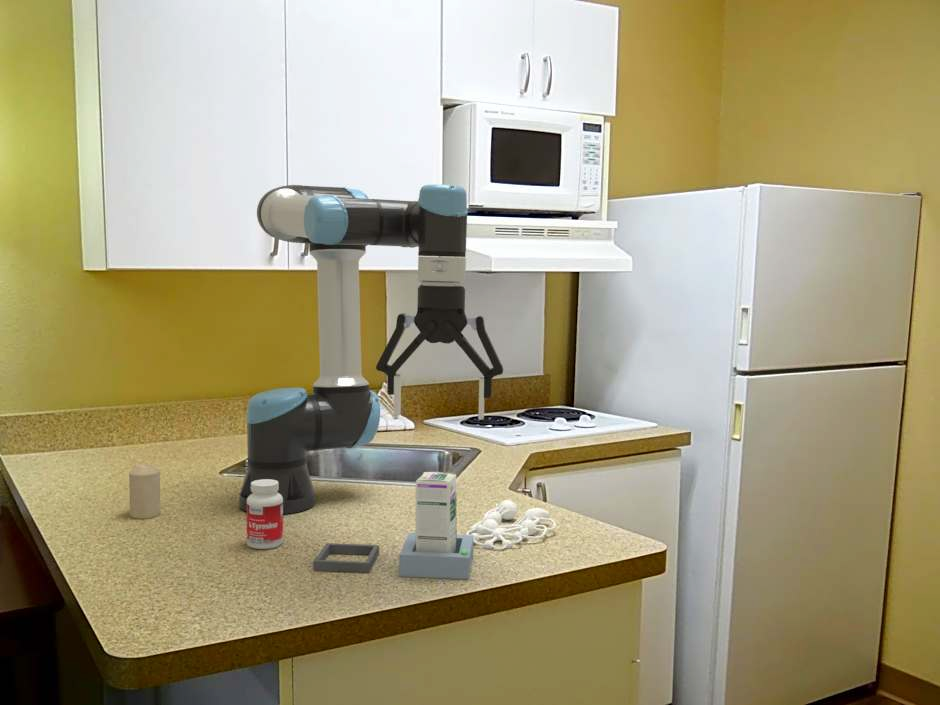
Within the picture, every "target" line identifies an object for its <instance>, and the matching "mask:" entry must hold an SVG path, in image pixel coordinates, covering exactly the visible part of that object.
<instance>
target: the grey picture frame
mask: <svg viewBox="0 0 940 705" xmlns="http://www.w3.org/2000/svg"><path fill="white" fill-rule="evenodd" d="M330 554H335V555H336V554H341V555H343V554H344V555H360V556H361V555H363V556H364V555H365V556H367V558H366V560H365V561H356V560H354V561H353V560H352V561H351V560H334V559H333V560H330V559H328V557H329V555H330ZM379 554H380V544H361V543H360V544H359V543H333V542H327V543H325V545H324V546H323V547H322V549H321V550H320V552H319V553H318V554H317V556H316V557H315V559H313V561H312V569H313V571H318V572H319V571H320V572H321V571H322V572H340V573H342V572H343V573H344V572H346V573H365V574H367V573H368V574H369V573H370V572H371V570H372V568H373V566H374V564H375V562H376V560H377V558H378V556H379Z"/></svg>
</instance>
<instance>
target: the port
mask: <svg viewBox="0 0 940 705" xmlns="http://www.w3.org/2000/svg"><path fill="white" fill-rule="evenodd" d="M404 541H405V542H404V543H403V546H402V548H401V550H400V552H399V556H398V557H399V558H398V560H399V561H398V563H399V564H398V565H399V566H398V567H399V568H398V569H399V570H398V577H405V578H406V577H407V578H408V577H410V578H430V579H431V578H432V579H454V580H456V579H457V580H458V579H459V580H469V579H470V575H471V574H470V573H471V570H472V564H473V559H474V542H473V541H474V535H471V534H469V535H466V534H456V553H436V552H416V532H409V533H408V535H407V536H406V539H405V540H404Z"/></svg>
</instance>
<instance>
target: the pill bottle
mask: <svg viewBox="0 0 940 705" xmlns="http://www.w3.org/2000/svg"><path fill="white" fill-rule="evenodd" d="M278 490H279V484H278V481H276V480H272V479H262V480H255V481H253V482H251V491H252V492H253V493H252V494H251V495H249V497H248V498H247V512H246V545H247V546H248V547H249V548H252V549H256V550H269V549H270V550H271V549H276V548H277V547H279V546H281V545H282V544H283V542H284V514H283V497H282V496H281V495H280V494H279V493H277V491H278Z"/></svg>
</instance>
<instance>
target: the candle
mask: <svg viewBox="0 0 940 705" xmlns="http://www.w3.org/2000/svg"><path fill="white" fill-rule="evenodd" d="M160 473H161V470H160V469H159V468H157V467H156V466H155V465H153V464H148V463H142V462H139V463H137V464H135V465H134V466H133V468H131V470H130V471H128V483H129V485H128V488H129V490H128V491H129V515H130V516H129V517H130V518H132V519H135V520H136V519H139V520H143V519H151V518H155V517H158V516H160V515H161V478H160V477H161V474H160Z"/></svg>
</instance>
